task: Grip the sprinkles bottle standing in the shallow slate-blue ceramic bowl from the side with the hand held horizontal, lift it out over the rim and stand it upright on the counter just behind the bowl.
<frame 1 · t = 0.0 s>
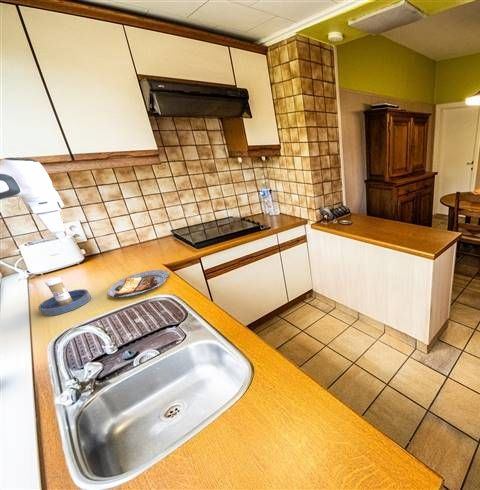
hand: (64, 239, 102), 34 cm above the worktop, tool pointing down, fingers open, 8 cm apart
food plate: (141, 286, 133), on the worktop
sprinkles bottle: (67, 305, 120), resting on bowl
bowl: (68, 305, 120), on the worktop
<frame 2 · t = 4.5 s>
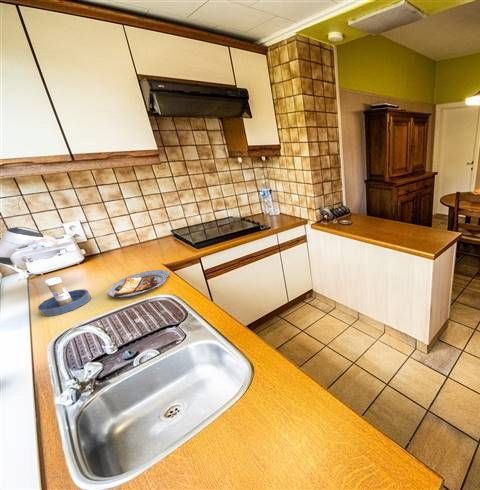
hand: (45, 257, 121), 20 cm above the worktop, tool horizontal, fingers open, 8 cm apart
nothing on the worktop moved.
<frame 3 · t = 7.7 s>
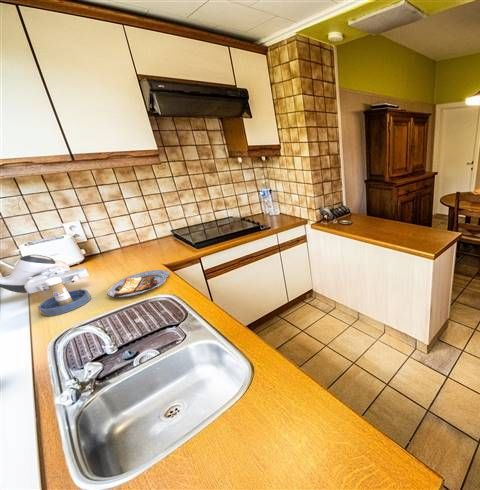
hand: (58, 285, 123), 8 cm above the worktop, tool horizontal, fingers open, 8 cm apart
nothing on the worktop moved.
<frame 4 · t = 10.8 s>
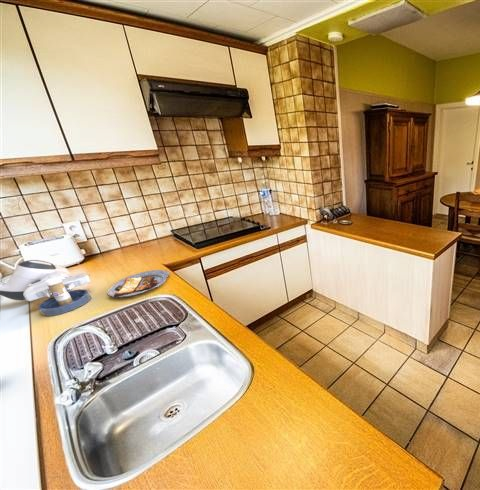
hand: (59, 292, 117), 8 cm above the worktop, tool horizontal, fingers closed on sprinkles bottle, 4 cm apart
sprinkles bottle: (67, 305, 120), resting on bowl, touching gripper
everything else where it was.
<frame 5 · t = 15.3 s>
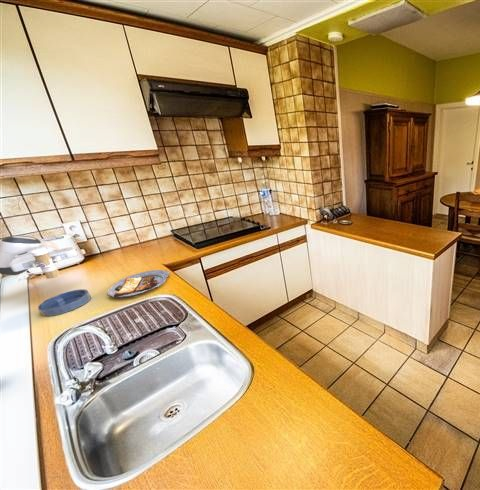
hand: (45, 263, 118), 19 cm above the worktop, tool horizontal, fingers closed on sprinkles bottle, 4 cm apart
sprinkles bottle: (54, 276, 122), point 12 cm above the worktop, touching gripper
everything else where it was.
when the fingers open (7 cm above the worktop, at t = 19.7 s): sprinkles bottle stays where it is, on the worktop.
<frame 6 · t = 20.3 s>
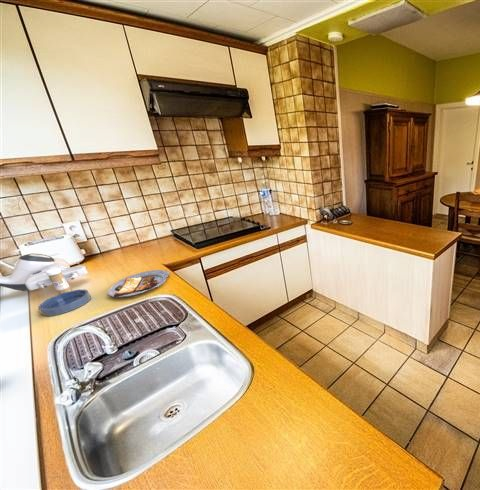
hand: (58, 282, 126), 7 cm above the worktop, tool horizontal, fingers open, 8 cm apart
sprinkles bottle: (66, 294, 130), on the worktop
everything else where it was.
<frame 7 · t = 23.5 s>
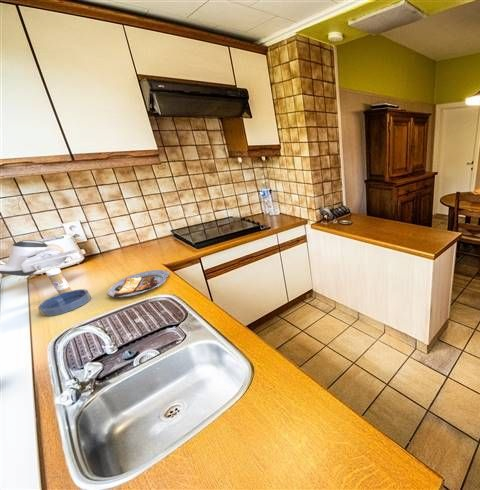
hand: (52, 264, 131), 13 cm above the worktop, tool horizontal, fingers open, 8 cm apart
nothing on the worktop moved.
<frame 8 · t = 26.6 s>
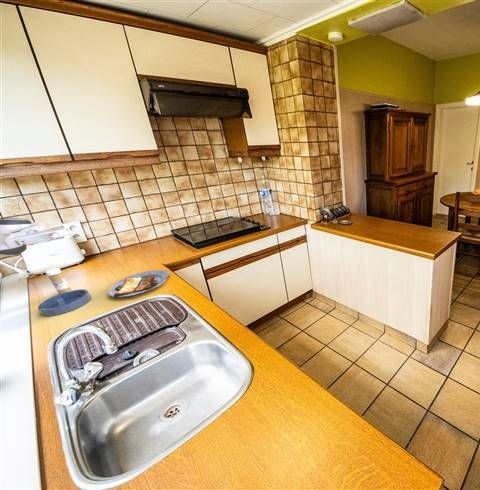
hand: (37, 240, 126), 26 cm above the worktop, tool horizontal, fingers open, 8 cm apart
nothing on the worktop moved.
at the end: sprinkles bottle inside the target area (0.2 cm from its centre), on the worktop; sprinkles bottle tilted 0°; sprinkles bottle touching worktop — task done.
